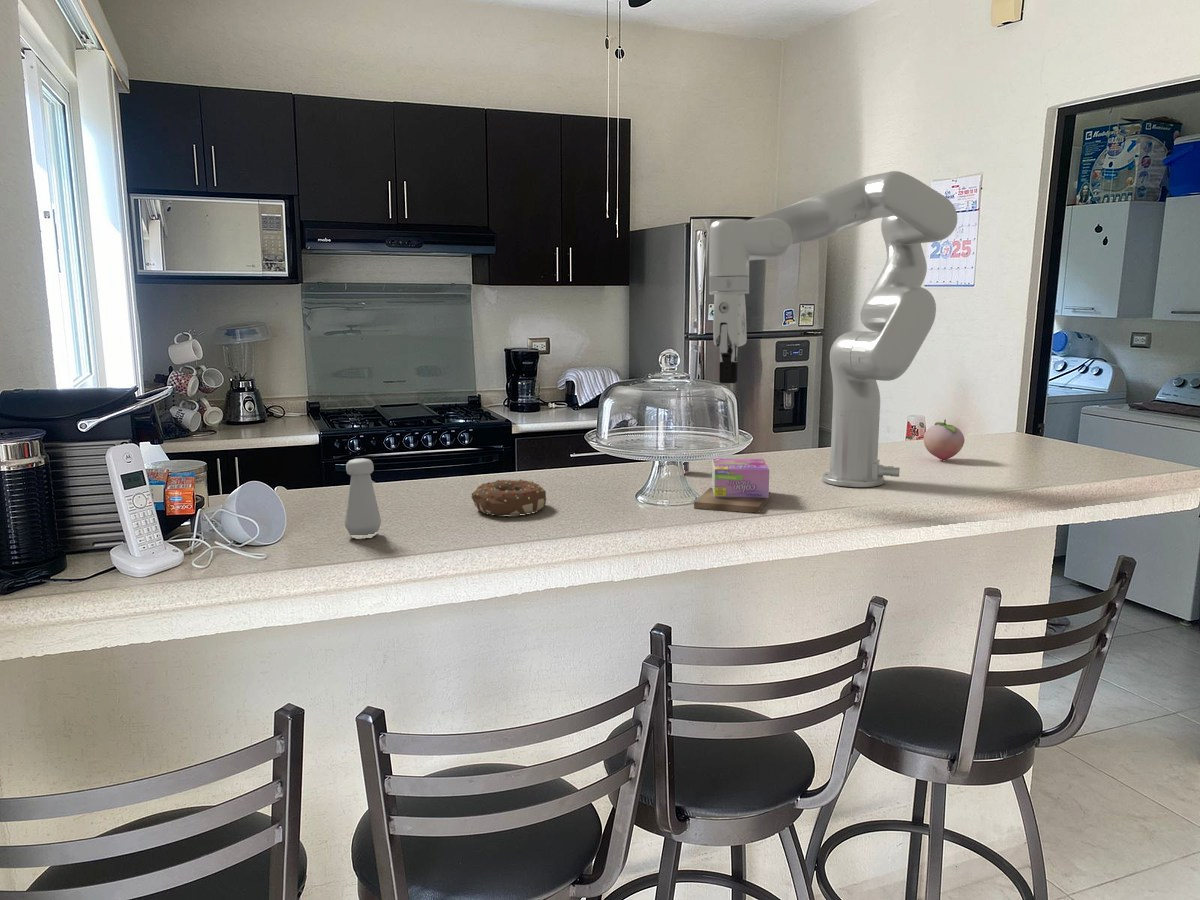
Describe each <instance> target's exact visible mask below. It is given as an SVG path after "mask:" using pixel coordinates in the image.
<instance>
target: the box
mask: <svg viewBox="0 0 1200 900" xmlns="http://www.w3.org/2000/svg"><path fill="white" fill-rule="evenodd" d="M711 460H712V461H711V463H712V464H711V467H712V468H711V488H713V494H714V498H769V492H770V469H769V467H768V464H767V463H766V461H765V459H764V458H721V457H720V458H715V459H713V458H712V459H711Z"/></svg>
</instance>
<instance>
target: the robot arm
mask: <svg viewBox="0 0 1200 900" xmlns="http://www.w3.org/2000/svg"><path fill="white" fill-rule="evenodd" d="M877 219H881V222H880V226H881V227H880V230H881V235H882V237H883V241H884V245H885V248H886V260H885V264H884V266H883V269H882V271H881V273H880V274H879V276H878V278H877V279H876V281H875V283H874V284H873V286H872V288H871V290H869V291H870V292H869V294H868V295H867V296H866V298H865V300H864V301H863V302H864V303H863V305H862V307H861V309H860V314H859V315H860V321H861V324H862V325H863V326H864V327H865V328H866V329H867V330H870V331H867V330H866V331H865V330H855V331H854V330H853V331H848V332H845V333H842V334H841V335H839V336H837V338H835V340H834V341H833V343H832V345H831V347H830V351H829V365H830V371H831V379H832V410H831V411H832V413H831V414H832V416H831V417H832V418H831V438H830V439H831V441H830V442H831V443H830V463H829V464H830V466H829V467H830V468H829V471H827V472H825V473H823V474H822V475H821V477H822V478H821V479H822V481H823V482H825V483H826V484H830V485H832V486H833V485H834V486H839V487H845V488H846V487H847V488H871V487H872V488H874V487H879V486H882V485H884V483H885V477H886V476H887V477H889V476H890V477H896V478H897V477H898V478H900V471H901V469H900V467H896V466H892V465H891V466H890V465H889V466H888V465H883V464H880V459H878V457H879V455H878V453H879V438H880V437H879V435H880V434H879V433H880V432H879V431H880V419H881V418H880V417H881V416H880V414H881V393H880V389H879V385H878V383H877V381H880V382H881V381H883V382H884V381H885V382H887V381H894V380H896V379H898V378H900V377H902V376H903V375H904V373H906V372H907V370H908V369H909V367H910V366H911V364H912V362H913V361H914V359H915V357H916V355H917V354H918V352H919V350H920V348H921V347H922V345H923V343H924V341H925V340H926V338H927V337H928V335H929V333H930V331H931V329H932V327H933V325H934V323H935V320H936V313H937V303H936V300H935V297H934V296H933V294H932V293H931V292H930V291H929V290H928V289H927V288H924V287H922V285H923V283H924V281H925V278H926V276H927V273H928V272H927V271H928V266H927V260H926V257H925V253H924V249H923V246H922V244H925V243H936V242H940V241H944V240H945V239H947V238H948V237H950V236H951V235H952V234H953V232H954V231H955V229H956V227H957V225H958V213H957V209H956V207H955V205H954V204H953V202H952V201H951V200H949V198H948V197H946V196H945V195H943V194H942V193H940V192H938V191H937V190H935V189H934V188H932V187H930V186H929V185H927V184H926V183H924V182H922V181H920V180H919V179H917V178H916V177H914V176H912V175H910V174H908V173H905V172H902V171H898V170H893V171H891V170H890V171H886V172H882V173H877V174H871V175H868V176H863V177H861V178H858V179H856V180H855V179H854V180H853V181H850V182H848V183H844V184H843V185H839V186H837V187H834V188H833V189H829V190H826V191H824V192H821V193H818V194H816V195H813V196H811V197H807V198H804V199H801V200H800V201H796V202H795V203H793V204H788V205H786V206H784V207H782V208H778V209H775V210H773V211H772V210H771V211H770V212H766V213H764V214H761V215H758V216H755V217H752V218H750V219H748V220H745V219H739V218H725V219H718V220H714V221H712V222H711V224H710V226H709V237H708V238H709V244H708V245H709V249H708V251H709V253H708V254H709V255H708V256H709V257H708V258H709V261H708V267H709V268H708V269H709V271H708V277H709V278H708V281H709V282H708V283H709V284H708V291H709V292H708V294H709V296H712V295H713V296H714V298H713V316H712V317H713V318H712V319H713V321H712V326H713V327H712V328H713V331H712V332H713V333H712V334H713V335H712V336H713V345H714V346H716V347H717V348H719V376H718V377H719V378H718V379H719V381H718V382H719V383H720V384H736V383H738V367H739V365H738V364H739V363H738V350H739V349H738V347H743V346H744V345H746V344H747V340H748V337H747V308H746V294H747V295H749V294H750V261H760V260H761V261H763V260H772V259H773V260H774V259H777V258H781V257H782V256H784V255H785V254H786V253H787V252H788V251H789V250H790V249H791V247H792V245H795V244H801V243H807V242H808V243H809V242H813V241H819V240H823V239H827V238H830V237H833V236H835V235H837V234H840V233H842V232H845V231H847V230H850V229H853V228H855V227H857V226H860V225H863V224H864V223H868V222H870V221H874V220H877Z"/></svg>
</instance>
